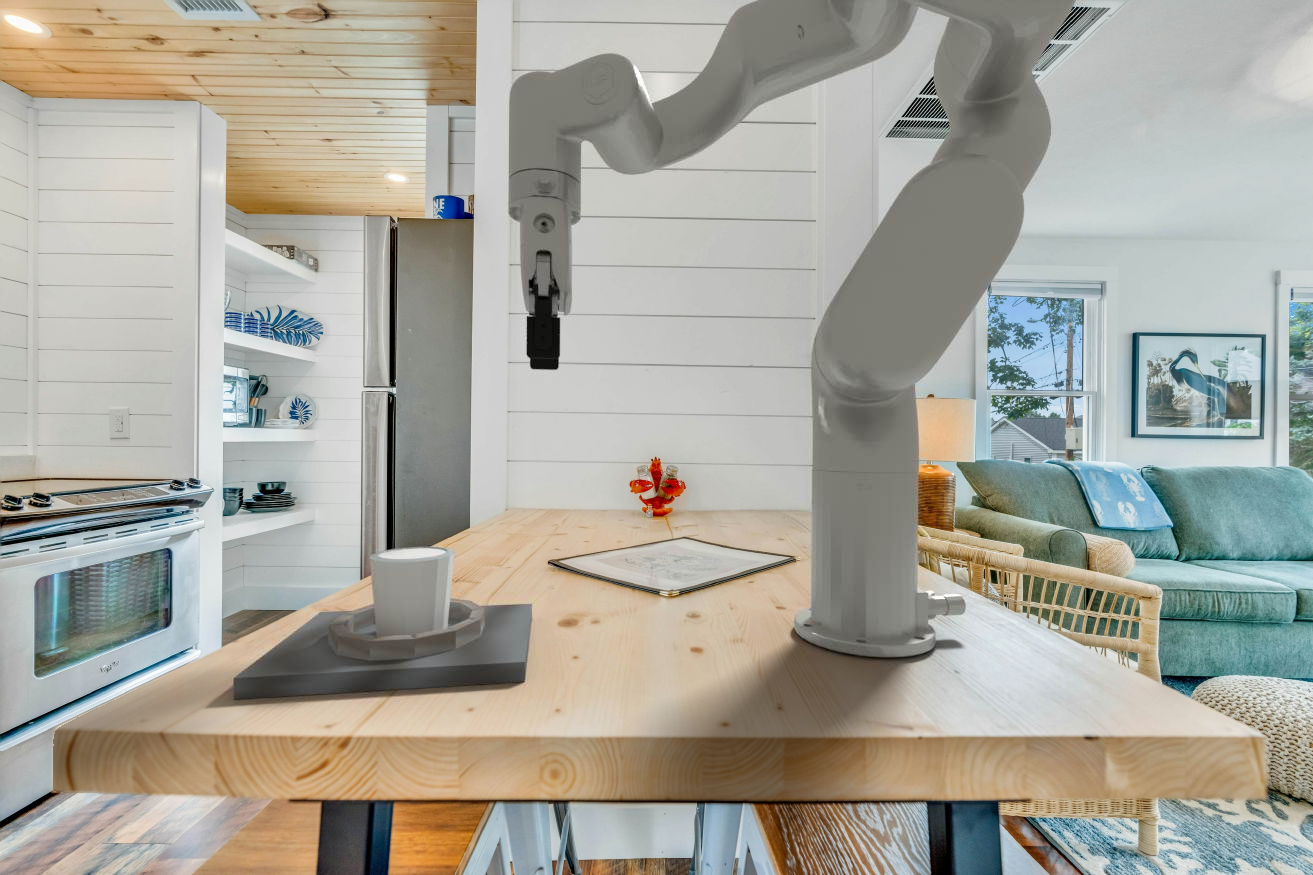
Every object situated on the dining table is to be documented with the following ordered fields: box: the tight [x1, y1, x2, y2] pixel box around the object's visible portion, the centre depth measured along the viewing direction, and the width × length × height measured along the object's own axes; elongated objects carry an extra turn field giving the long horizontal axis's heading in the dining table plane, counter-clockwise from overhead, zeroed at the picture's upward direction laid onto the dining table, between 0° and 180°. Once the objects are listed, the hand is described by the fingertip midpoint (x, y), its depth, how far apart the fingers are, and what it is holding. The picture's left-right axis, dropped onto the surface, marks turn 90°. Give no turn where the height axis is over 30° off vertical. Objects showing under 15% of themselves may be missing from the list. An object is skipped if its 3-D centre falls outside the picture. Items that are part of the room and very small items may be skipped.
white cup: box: [369, 546, 456, 636], centre depth 52 cm, size 7×7×7 cm
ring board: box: [232, 597, 533, 700], centre depth 52 cm, size 20×16×3 cm
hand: (543, 364), depth 63 cm, fingers open, 9 cm apart
